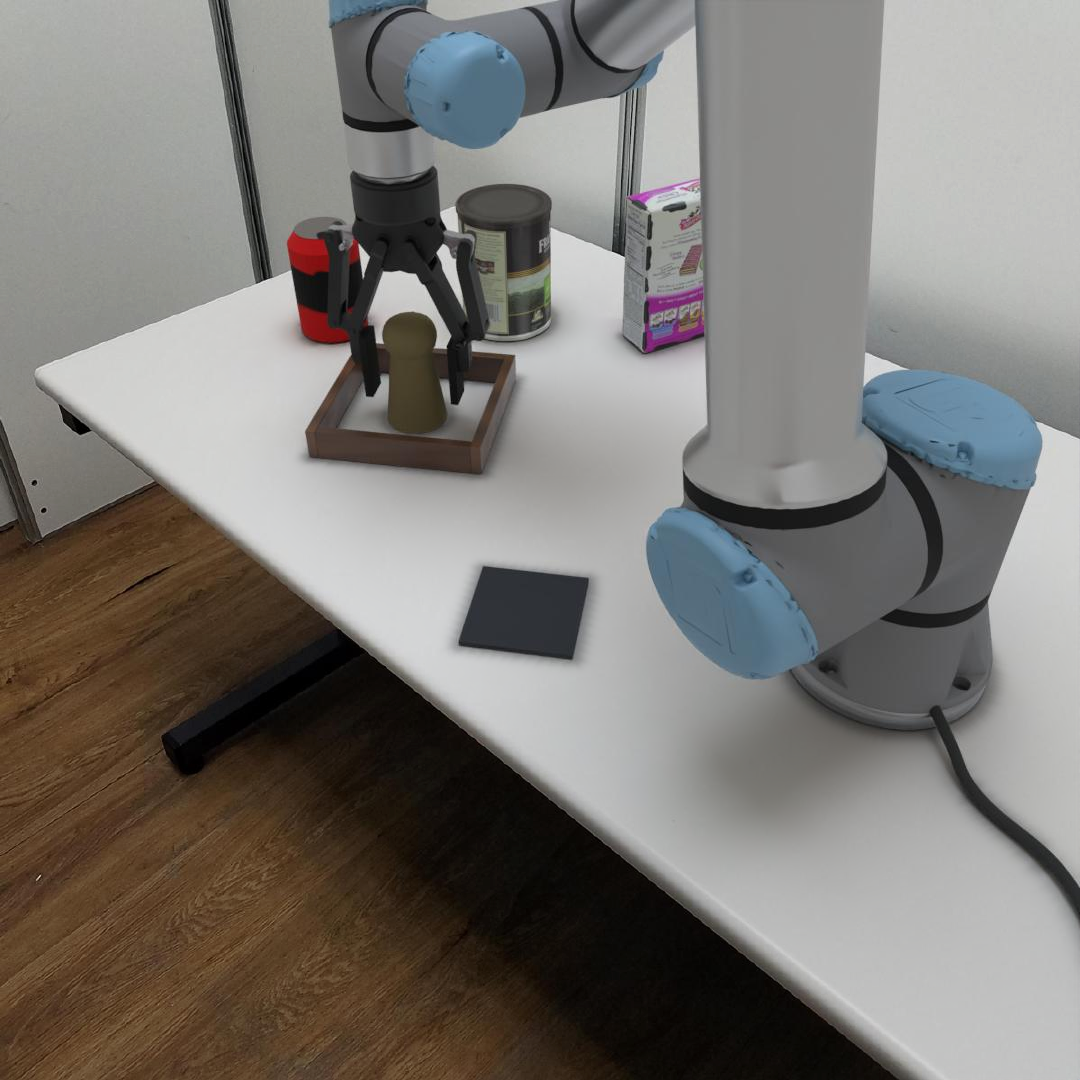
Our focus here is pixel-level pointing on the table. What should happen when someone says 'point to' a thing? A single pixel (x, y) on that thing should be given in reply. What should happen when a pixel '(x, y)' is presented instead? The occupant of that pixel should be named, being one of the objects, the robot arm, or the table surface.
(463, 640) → the mat
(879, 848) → the table surface
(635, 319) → the candy bar box
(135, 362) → the table surface
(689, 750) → the table surface
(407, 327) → the olive pawn
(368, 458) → the wooden frame
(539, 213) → the coffee can
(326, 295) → the soda can
